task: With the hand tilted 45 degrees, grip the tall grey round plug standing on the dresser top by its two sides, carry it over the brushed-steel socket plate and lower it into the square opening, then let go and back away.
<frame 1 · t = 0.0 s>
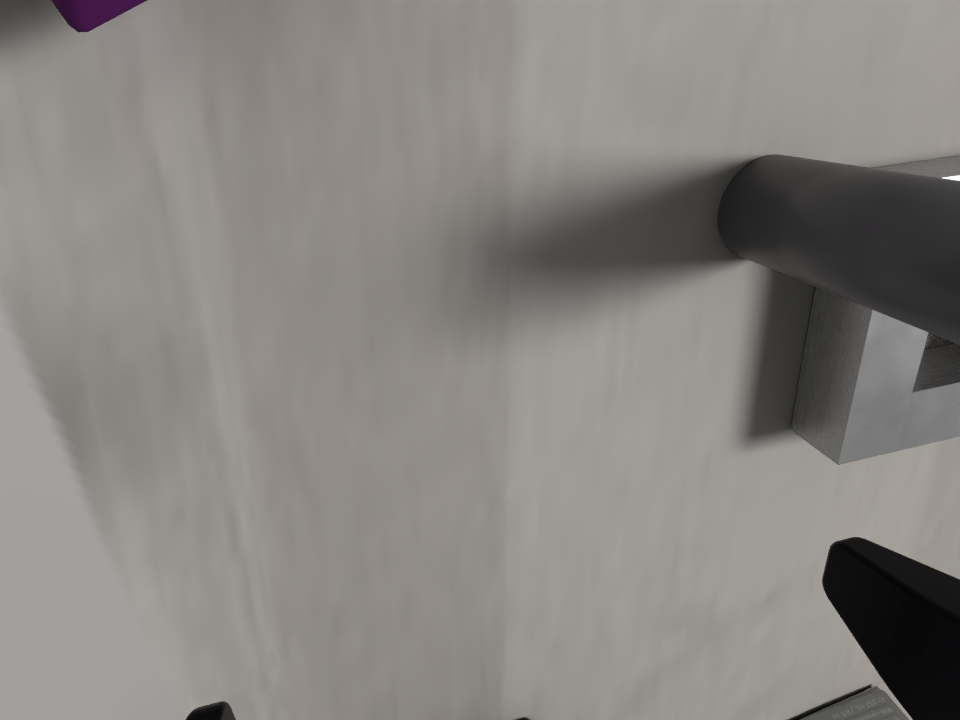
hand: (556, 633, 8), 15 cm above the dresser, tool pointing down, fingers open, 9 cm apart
socket plate: (925, 293, 27), on the dresser
plug: (764, 208, 23), on the dresser
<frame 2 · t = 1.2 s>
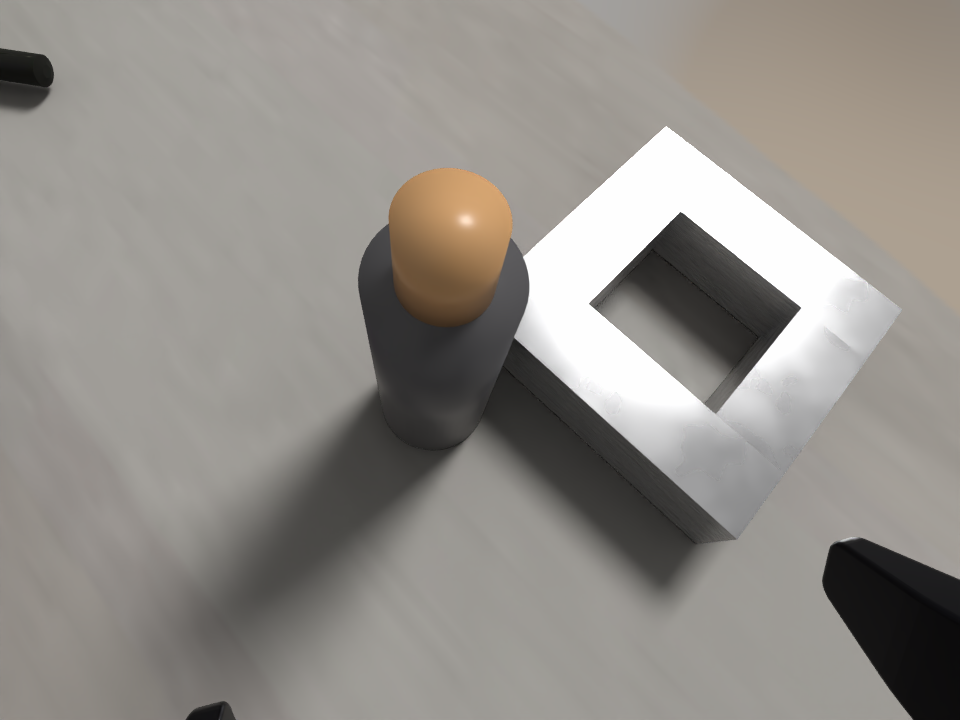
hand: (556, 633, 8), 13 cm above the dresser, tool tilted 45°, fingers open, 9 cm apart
socket plate: (665, 336, 25), on the dresser
plug: (433, 399, 23), on the dresser
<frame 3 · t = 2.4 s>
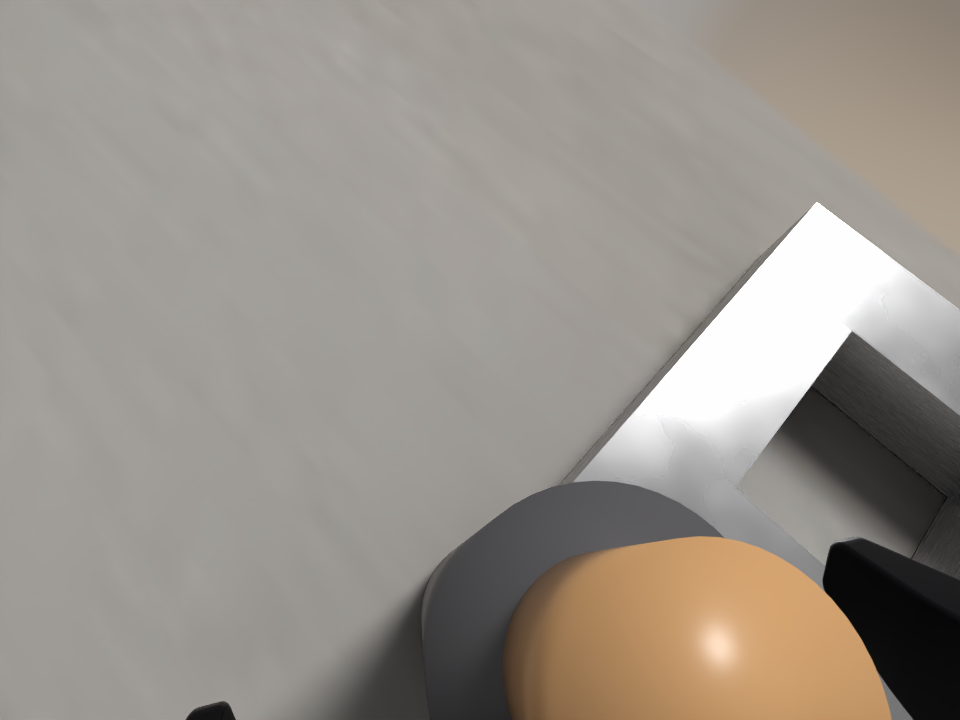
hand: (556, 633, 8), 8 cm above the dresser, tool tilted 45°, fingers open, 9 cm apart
socket plate: (818, 499, 18), on the dresser
plug: (496, 614, 16), on the dresser
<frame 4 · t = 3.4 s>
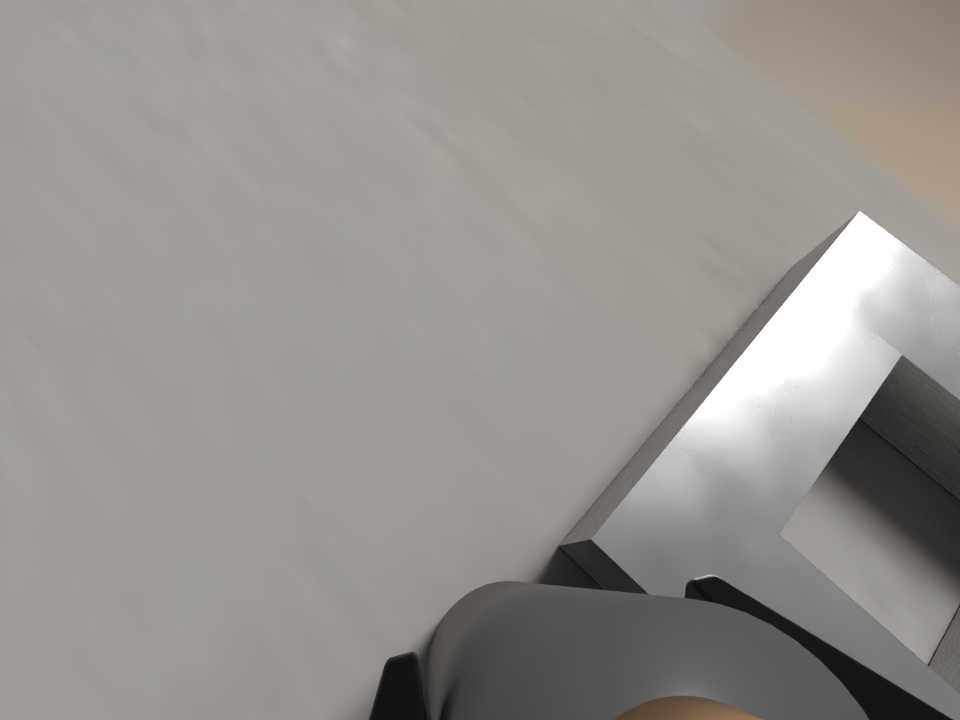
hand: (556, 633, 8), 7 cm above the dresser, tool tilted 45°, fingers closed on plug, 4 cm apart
socket plate: (860, 537, 16), on the dresser
plug: (510, 669, 14), on the dresser, touching gripper
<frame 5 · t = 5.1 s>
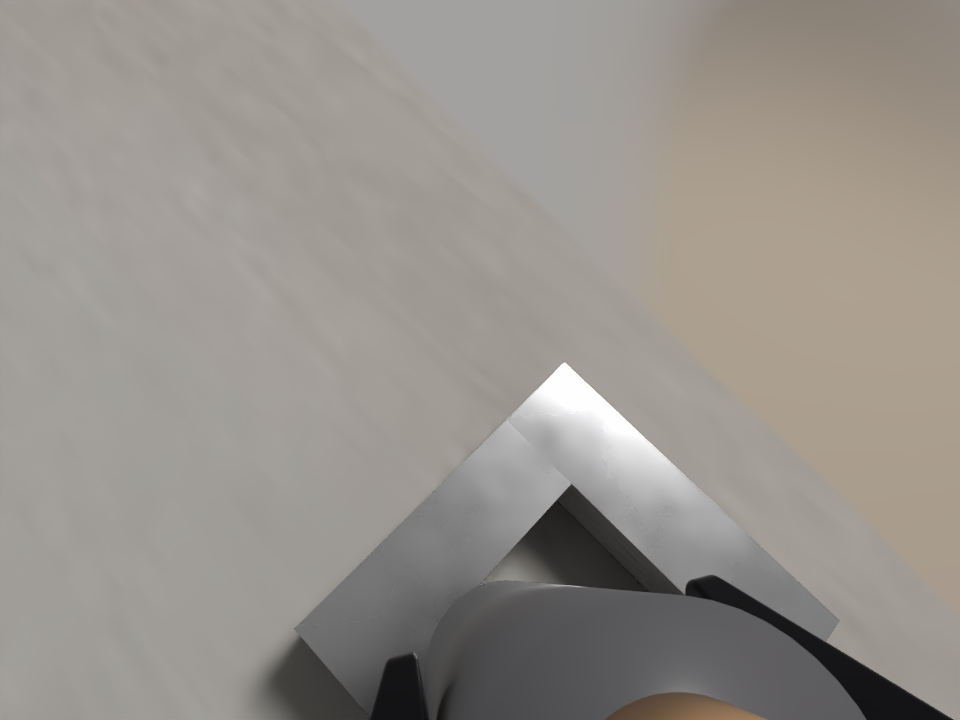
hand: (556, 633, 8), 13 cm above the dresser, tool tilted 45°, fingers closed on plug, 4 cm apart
socket plate: (557, 617, 21), on the dresser
plug: (508, 668, 14), point 6 cm above the dresser, touching gripper
when the fingers open (8 cm above the dresser, at t = 6.8 s): plug drops 1 cm, resting in socket plate.
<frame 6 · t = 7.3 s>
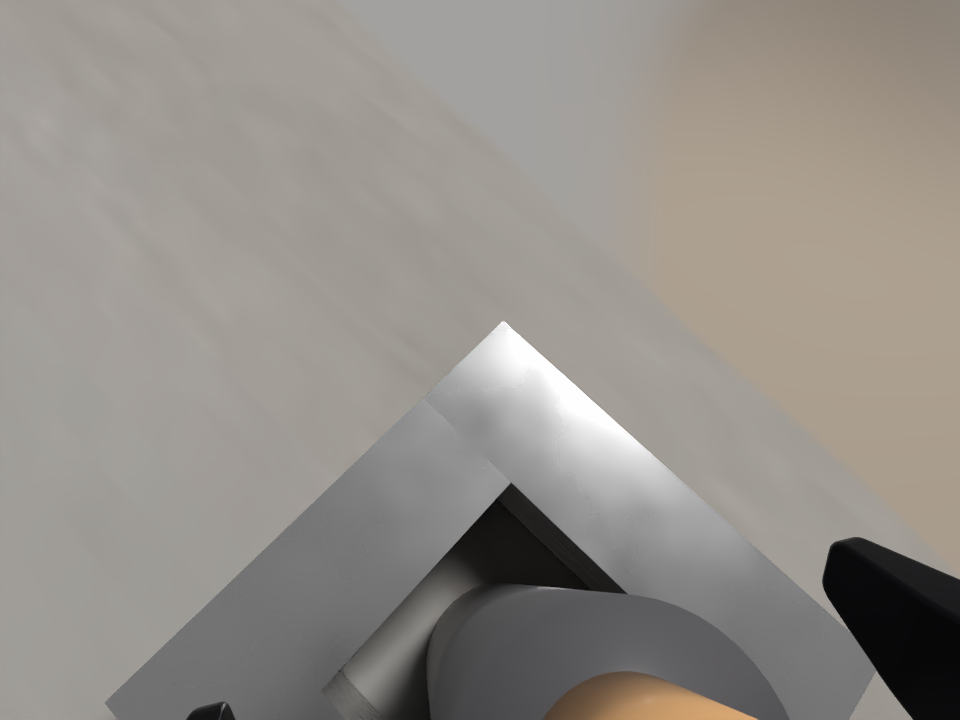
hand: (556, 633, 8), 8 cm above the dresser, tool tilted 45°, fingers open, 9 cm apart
socket plate: (501, 661, 15), on the dresser
plug: (501, 663, 15), resting in socket plate
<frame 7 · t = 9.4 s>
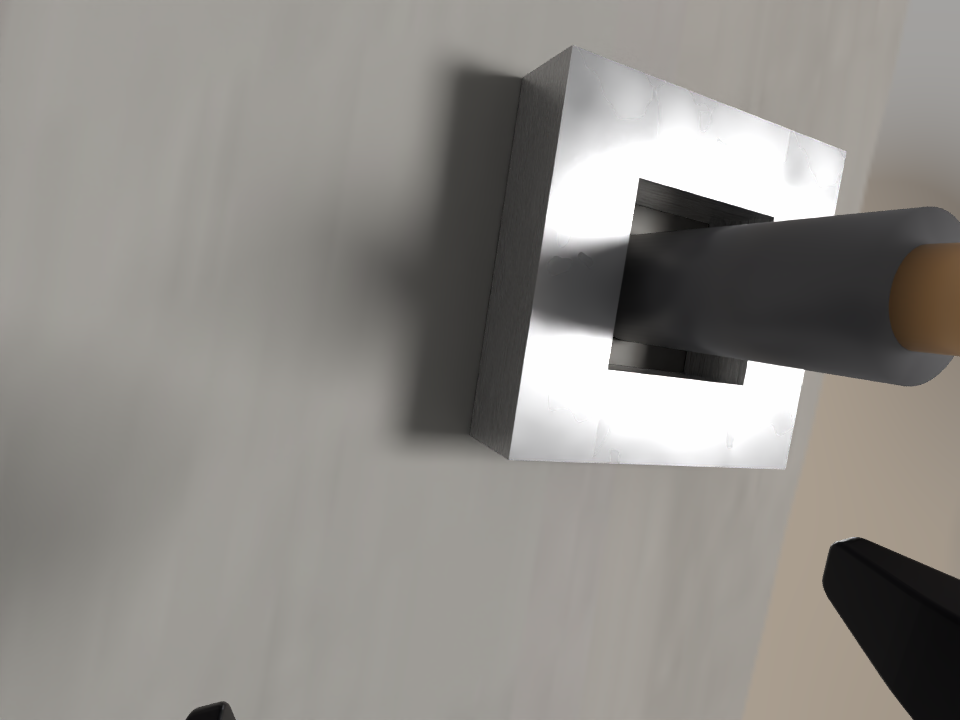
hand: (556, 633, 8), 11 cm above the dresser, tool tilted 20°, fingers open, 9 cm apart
socket plate: (636, 287, 22), on the dresser
plug: (635, 288, 22), resting in socket plate
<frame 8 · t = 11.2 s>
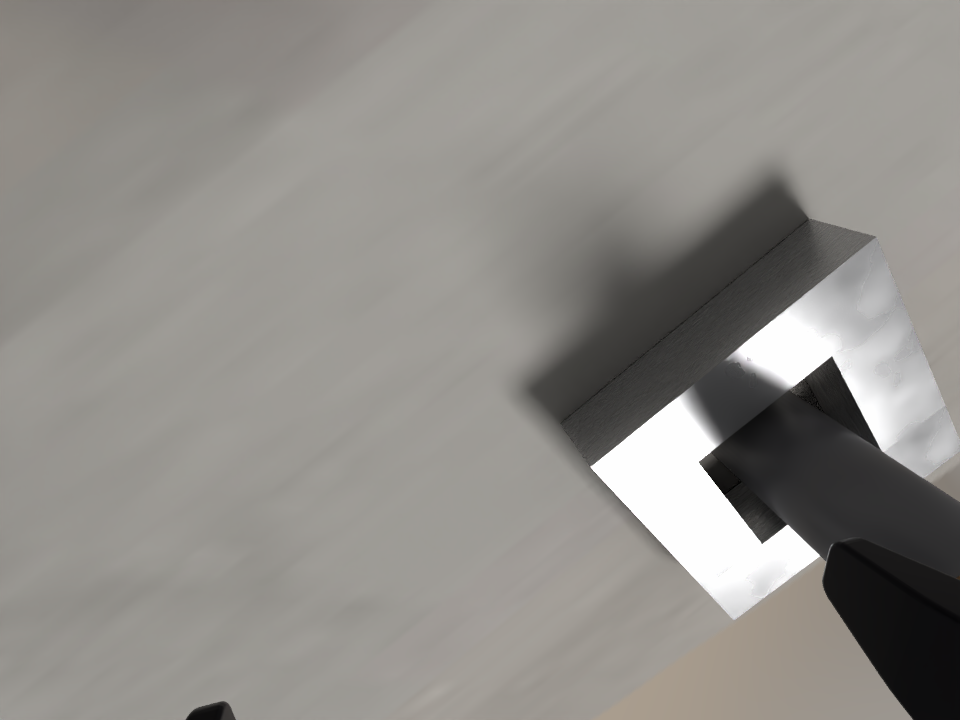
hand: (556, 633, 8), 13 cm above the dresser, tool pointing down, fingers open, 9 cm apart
socket plate: (745, 418, 25), on the dresser
plug: (743, 418, 25), resting in socket plate
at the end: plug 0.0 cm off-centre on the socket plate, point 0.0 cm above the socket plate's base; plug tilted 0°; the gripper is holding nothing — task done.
